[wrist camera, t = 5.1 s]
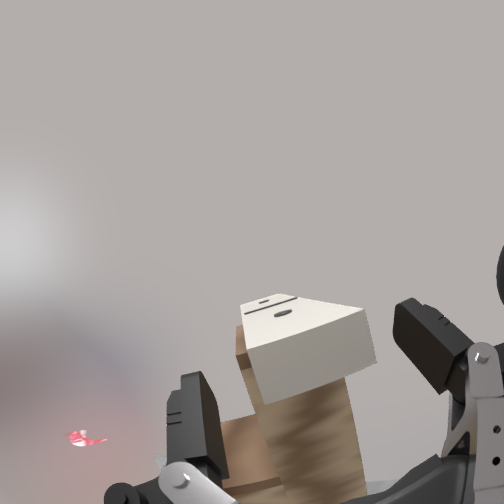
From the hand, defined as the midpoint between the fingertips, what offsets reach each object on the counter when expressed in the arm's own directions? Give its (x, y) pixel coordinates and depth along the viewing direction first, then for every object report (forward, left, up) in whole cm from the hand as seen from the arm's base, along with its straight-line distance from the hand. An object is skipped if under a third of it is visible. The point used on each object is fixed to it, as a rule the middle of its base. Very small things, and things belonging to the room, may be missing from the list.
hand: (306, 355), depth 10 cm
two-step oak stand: (+3, -12, -33) cm, 35 cm away
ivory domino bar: (0, -8, -1) cm, 8 cm away
